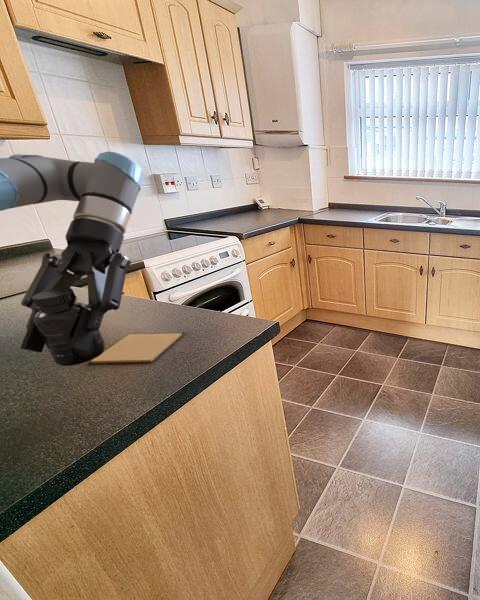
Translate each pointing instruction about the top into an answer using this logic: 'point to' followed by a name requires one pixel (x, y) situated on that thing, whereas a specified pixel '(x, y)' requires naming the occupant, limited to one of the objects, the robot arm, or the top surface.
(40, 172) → the robot arm
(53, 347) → the supplement bottle
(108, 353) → the cork mat
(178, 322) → the top surface
